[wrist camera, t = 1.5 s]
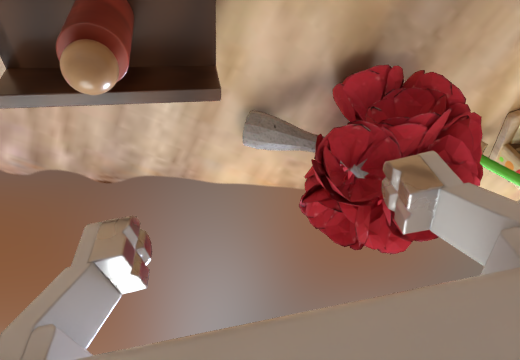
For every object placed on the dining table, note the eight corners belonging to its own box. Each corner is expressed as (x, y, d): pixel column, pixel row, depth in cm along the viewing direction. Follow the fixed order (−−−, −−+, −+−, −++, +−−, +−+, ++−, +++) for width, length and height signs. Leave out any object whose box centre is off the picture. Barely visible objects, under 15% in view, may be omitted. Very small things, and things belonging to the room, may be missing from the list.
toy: (83, 41, 27) (58, 113, 21) (67, -17, 24) (31, 45, 18) (138, 41, 28) (131, 110, 21) (128, -15, 25) (117, 45, 18)
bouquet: (265, 148, 63) (433, 190, 58) (214, 243, 46) (446, 315, 41) (277, 28, 49) (501, 67, 44) (210, 100, 32) (565, 180, 26)
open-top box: (42, 28, 36) (-4, 109, 26) (-1, -92, 29) (-88, -46, 19) (205, 29, 39) (221, 101, 29) (202, -78, 32) (222, -32, 22)
